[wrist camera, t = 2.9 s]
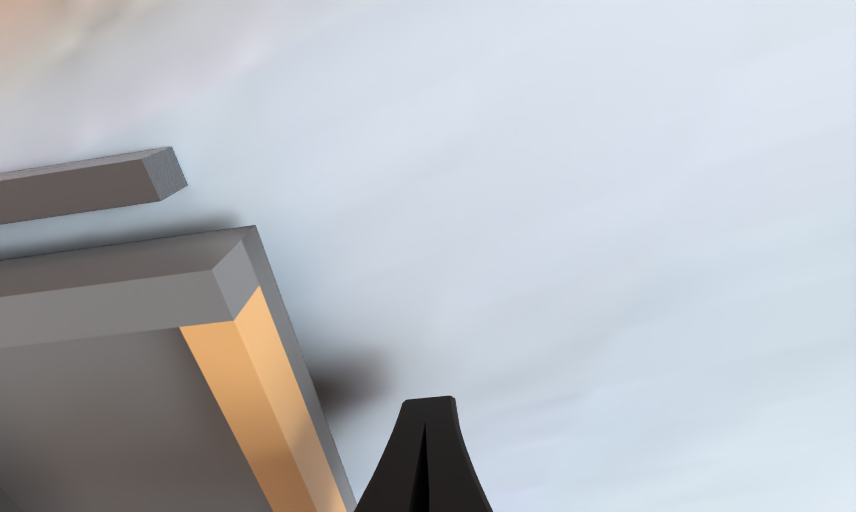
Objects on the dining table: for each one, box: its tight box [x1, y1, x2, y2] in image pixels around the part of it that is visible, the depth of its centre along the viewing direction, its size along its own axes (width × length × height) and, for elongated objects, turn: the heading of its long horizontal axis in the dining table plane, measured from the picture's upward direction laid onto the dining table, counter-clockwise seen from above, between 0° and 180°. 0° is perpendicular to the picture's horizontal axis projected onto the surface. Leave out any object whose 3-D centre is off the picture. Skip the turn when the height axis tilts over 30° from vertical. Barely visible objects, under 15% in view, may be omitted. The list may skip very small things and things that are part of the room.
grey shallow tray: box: [0, 225, 357, 512], centre depth 13 cm, size 12×12×3 cm
